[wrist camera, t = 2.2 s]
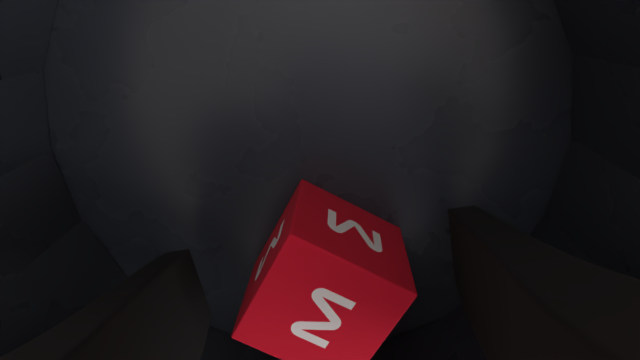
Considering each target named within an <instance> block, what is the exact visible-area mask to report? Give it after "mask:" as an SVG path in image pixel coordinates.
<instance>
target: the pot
mask: <svg viewBox="0 0 640 360" xmlns="http://www.w3.org/2000/svg"><path fill="white" fill-rule="evenodd" d="M302 179H303V180H305V181H307V182H309V183H311V184H313V185H315V186H317V187H319V188H321V189H323V190H325V191H327V192H329V193H331V194H333V195H335V196H337V197H339V198H341V199H343V200H345V201H347V202H349V203H351V204H353V205H355V206H357V207H359V208H361V209H363V210H365V211H367V212H369V213H371V214H373V215H375V216H377V217H379V218H381V219H383V220H385V221H387V222H389V223H391V224H393V225H395V226H397V227H399V228H400V230H401V233H402V237H403V241H404V245H405V249H406V253H407V256H408V260H409V264H410V268H411V272H412V275H413V279H414V283H415V287H416V291H417V295H418V296H417V297H416V299H415V300H414V301H413V303H412V304H411V305H410V307H409V308H408V309H407V311H406V312H405V313H404V315H403V316H402V317H401V319H400V320H399V322H398V323H397V324H396V326H395V327H394V328H393V330H392V331H391V332H390V334H389V335H388V336H387V338H386V339H385V340H384V342H383V343H382V344H381V346H380V347H379V348H378V350H377V351H376V352H375V354H374V355H373V356H372V358H371V359H370V360H487V359H486V357H485V355H484V353H483V351H482V348H481V346H480V344H479V342H478V340H477V338H476V336H475V334H474V331H473V329H472V327H471V325H470V323H469V321H468V319H467V316H466V314H465V311H464V308H463V305H462V302H461V299H460V295H459V292H458V289H457V286H456V283H455V278H454V268H453V258H452V248H451V238H450V228H449V217H448V209H452V208H459V207H465V206H472V205H474V206H476V207H478V208H480V209H482V210H484V211H486V212H488V213H489V214H491V215H493V216H495V217H496V218H498V219H500V220H502V221H503V222H505V223H507V224H509V225H511V226H512V227H514V228H516V229H518V230H520V231H522V232H524V233H526V234H527V235H529V236H531V237H533V238H535V239H537V240H539V241H541V242H543V243H545V244H548V245H550V246H552V247H554V248H556V249H559V250H561V251H563V252H565V253H568V254H570V255H572V256H575V257H577V258H579V259H582V260H584V261H587V262H590V263H593V264H595V265H598V266H601V267H604V268H606V269H609V270H612V271H615V272H618V273H621V274H624V275H627V276H630V277H633V278H636V279H640V0H0V357H2V356H4V355H6V354H8V353H10V352H11V351H13V350H15V349H17V348H19V347H20V346H22V345H24V344H26V343H28V342H29V341H31V340H33V339H35V338H36V337H38V336H40V335H42V334H43V333H45V332H47V331H48V330H50V329H52V328H53V327H55V326H56V325H58V324H60V323H61V322H63V321H64V320H66V319H67V318H69V317H70V316H72V315H73V314H75V313H76V312H78V311H79V310H81V309H82V308H84V307H85V306H87V305H88V304H90V303H91V302H93V301H94V300H96V299H97V298H99V297H100V296H102V295H103V294H105V293H106V292H108V291H109V290H110V289H112V288H113V287H115V286H116V285H118V284H119V283H120V282H122V281H123V280H125V279H126V278H127V277H129V276H130V275H132V274H133V273H135V272H136V271H137V270H139V269H140V268H142V267H143V266H145V265H146V264H148V263H149V262H151V261H152V260H154V259H156V258H157V257H159V256H161V255H163V254H165V253H167V252H173V251H179V250H186V249H189V251H190V253H191V256H192V259H193V262H194V265H195V268H196V271H197V273H198V276H199V279H200V282H201V285H202V288H203V291H204V293H205V296H206V299H207V302H208V305H209V308H210V311H211V318H210V323H209V328H208V333H207V337H206V341H205V346H204V349H203V352H202V355H201V358H200V360H281V359H279V358H276V357H274V356H272V355H269V354H267V353H265V352H263V351H260V350H258V349H256V348H253V347H251V346H249V345H247V344H244V343H242V342H240V341H237V340H235V339H233V338H231V335H232V332H233V328H234V325H235V322H236V319H237V316H238V313H239V310H240V307H241V304H242V301H243V298H244V295H245V292H246V289H247V286H248V283H249V280H250V277H251V274H252V271H253V268H254V265H255V263H256V261H257V259H258V257H259V255H260V254H261V252H262V250H263V248H264V246H265V244H266V243H267V241H268V239H269V237H270V235H271V234H272V232H273V230H274V228H275V226H276V225H277V223H278V221H279V219H280V217H281V215H282V214H283V212H284V210H285V208H286V206H287V205H288V203H289V201H290V199H291V197H292V195H293V194H294V192H295V190H296V188H297V186H298V185H299V183H300V181H301V180H302Z"/></svg>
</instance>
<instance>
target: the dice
mask: <svg viewBox="0 0 640 360" xmlns="http://www.w3.org/2000/svg"><path fill="white" fill-rule="evenodd" d="M417 296H418V295H417V291H416V287H415V283H414V279H413V275H412V272H411V268H410V264H409V260H408V256H407V253H406V249H405V245H404V241H403V237H402V233H401V230H400V228H399V227H397V226H395V225H393V224H391V223H389V222H387V221H385V220H383V219H381V218H379V217H377V216H375V215H373V214H371V213H369V212H367V211H365V210H363V209H361V208H359V207H357V206H355V205H353V204H351V203H349V202H347V201H345V200H343V199H341V198H339V197H337V196H335V195H333V194H331V193H329V192H327V191H325V190H323V189H321V188H319V187H317V186H315V185H313V184H311V183H309V182H307V181H305V180H303V179H302V180H301V181H300V183H299V185H298V186H297V188H296V190H295V192H294V194H293V195H292V197H291V199H290V201H289V203H288V205H287V206H286V208H285V210H284V212H283V214H282V215H281V217H280V219H279V221H278V223H277V225H276V226H275V228H274V230H273V232H272V234H271V235H270V237H269V239H268V241H267V243H266V244H265V246H264V248H263V250H262V252H261V254H260V255H259V257H258V259H257V261H256V263H255V265H254V268H253V271H252V274H251V277H250V280H249V283H248V286H247V289H246V292H245V295H244V298H243V301H242V304H241V307H240V310H239V313H238V316H237V319H236V322H235V325H234V328H233V332H232V335H231V338H233V339H235V340H237V341H240V342H242V343H244V344H247V345H249V346H251V347H253V348H256V349H258V350H260V351H263V352H265V353H267V354H269V355H272V356H274V357H276V358H279V359H281V360H370V359H371V358H372V356H373V355H374V354H375V352H376V351H377V350H378V348H379V347H380V346H381V344H382V343H383V342H384V340H385V339H386V338H387V336H388V335H389V334H390V332H391V331H392V330H393V328H394V327H395V326H396V324H397V323H398V322H399V320H400V319H401V317H402V316H403V315H404V313H405V312H406V311H407V309H408V308H409V307H410V305H411V304H412V303H413V301H414V300H415V299H416V297H417Z"/></svg>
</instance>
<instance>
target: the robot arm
mask: <svg viewBox="0 0 640 360" xmlns="http://www.w3.org/2000/svg"><path fill="white" fill-rule="evenodd" d="M448 217H449V228H450V238H451V248H452V258H453V268H454V278H455V283H456V286H457V289H458V292H459V295H460V299H461V302H462V305H463V308H464V311H465V314H466V316H467V319H468V321H469V323H470V325H471V327H472V329H473V331H474V334H475V336H476V338H477V340H478V342H479V344H480V346H481V348H482V351H483V353H484V355H485V357H486V359H487V360H640V279H636V278H633V277H630V276H627V275H624V274H621V273H618V272H615V271H612V270H609V269H606V268H604V267H601V266H598V265H595V264H593V263H590V262H587V261H584V260H582V259H579V258H577V257H575V256H572V255H570V254H568V253H565V252H563V251H561V250H559V249H556V248H554V247H552V246H550V245H548V244H545V243H543V242H541V241H539V240H537V239H535V238H533V237H531V236H529V235H527V234H526V233H524V232H522V231H520V230H518V229H516V228H514V227H512V226H511V225H509V224H507V223H505V222H503V221H502V220H500V219H498V218H496V217H495V216H493V215H491V214H489V213H488V212H486V211H484V210H482V209H480V208H478V207H476V206H474V205H472V206H465V207H459V208H452V209H448ZM210 318H211V311H210V308H209V305H208V302H207V299H206V296H205V293H204V291H203V288H202V285H201V282H200V279H199V276H198V273H197V271H196V268H195V265H194V262H193V259H192V256H191V253H190V251H189V249H186V250H179V251H173V252H167V253H165V254H163V255H161V256H159V257H157V258H156V259H154V260H152V261H151V262H149V263H148V264H146V265H145V266H143V267H142V268H140V269H139V270H137V271H136V272H135V273H133V274H132V275H130V276H129V277H127V278H126V279H125V280H123V281H122V282H120V283H119V284H118V285H116V286H115V287H113V288H112V289H110V290H109V291H108V292H106V293H105V294H103V295H102V296H100V297H99V298H97V299H96V300H94V301H93V302H91V303H90V304H88V305H87V306H85V307H84V308H82V309H81V310H79V311H78V312H76V313H75V314H73V315H72V316H70V317H69V318H67V319H66V320H64V321H63V322H61V323H60V324H58V325H56V326H55V327H53V328H52V329H50V330H48V331H47V332H45V333H43V334H42V335H40V336H38V337H36V338H35V339H33V340H31V341H29V342H28V343H26V344H24V345H22V346H20V347H19V348H17V349H15V350H13V351H11V352H10V353H8V354H6V355H4V356H2V357H0V360H200V358H201V355H202V352H203V349H204V346H205V341H206V337H207V333H208V328H209V323H210Z"/></svg>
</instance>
